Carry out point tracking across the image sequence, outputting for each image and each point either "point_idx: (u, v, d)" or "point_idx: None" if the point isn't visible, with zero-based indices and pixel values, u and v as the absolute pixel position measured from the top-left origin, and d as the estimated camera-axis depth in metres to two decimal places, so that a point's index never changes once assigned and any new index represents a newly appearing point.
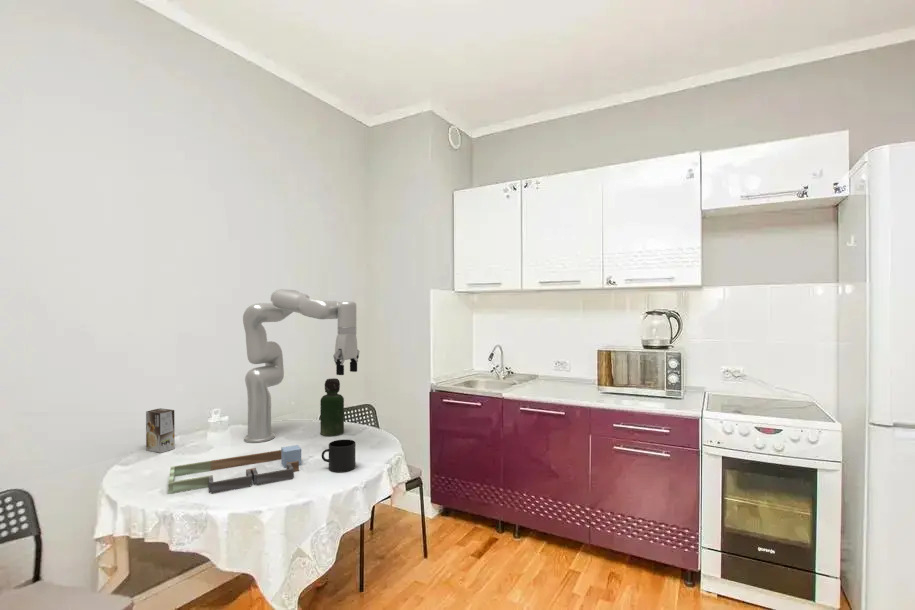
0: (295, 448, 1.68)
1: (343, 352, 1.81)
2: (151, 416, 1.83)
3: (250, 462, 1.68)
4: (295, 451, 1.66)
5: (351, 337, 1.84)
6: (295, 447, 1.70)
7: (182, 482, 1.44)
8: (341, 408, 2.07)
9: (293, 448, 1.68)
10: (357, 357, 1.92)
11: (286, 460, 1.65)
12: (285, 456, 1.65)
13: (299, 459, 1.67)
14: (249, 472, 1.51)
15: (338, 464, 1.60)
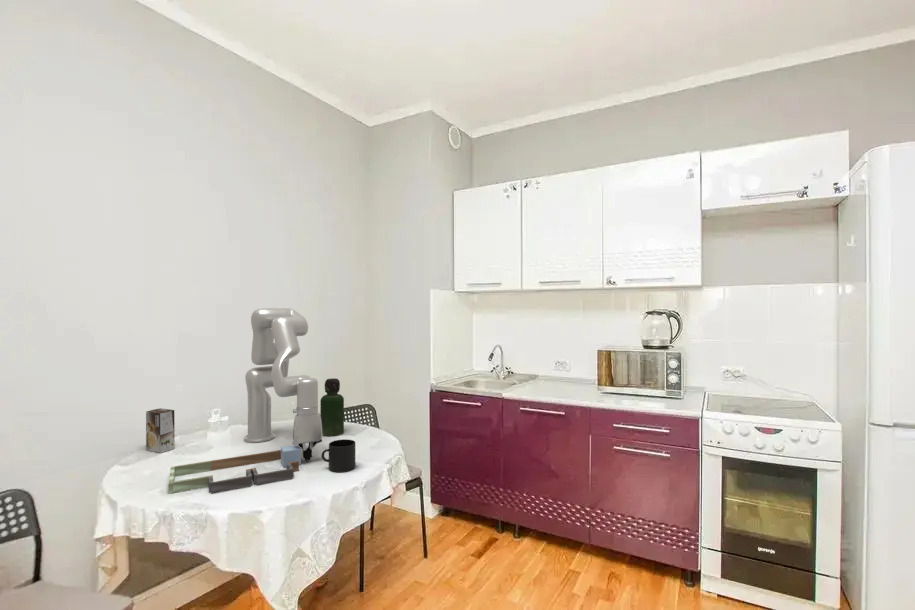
0: (294, 448, 1.68)
1: None
2: (151, 416, 1.83)
3: (250, 462, 1.68)
4: (294, 451, 1.66)
5: None
6: (295, 447, 1.70)
7: (182, 482, 1.44)
8: (341, 408, 2.07)
9: (293, 448, 1.68)
10: None
11: (285, 460, 1.65)
12: (284, 456, 1.64)
13: (298, 459, 1.67)
14: (249, 472, 1.51)
15: (338, 464, 1.60)
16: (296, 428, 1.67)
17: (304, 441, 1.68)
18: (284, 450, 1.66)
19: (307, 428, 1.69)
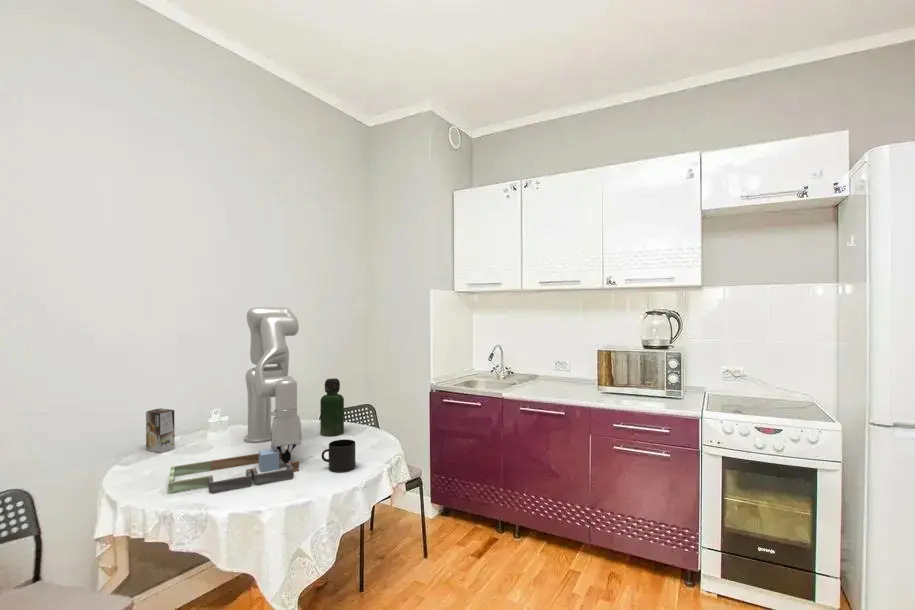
0: (272, 451, 1.64)
1: None
2: (151, 416, 1.83)
3: (250, 462, 1.68)
4: (272, 455, 1.62)
5: None
6: (273, 450, 1.65)
7: (182, 482, 1.44)
8: (341, 408, 2.07)
9: (271, 452, 1.64)
10: None
11: (263, 464, 1.61)
12: (262, 460, 1.60)
13: (277, 463, 1.63)
14: (249, 472, 1.51)
15: (338, 464, 1.60)
16: (274, 431, 1.63)
17: (282, 444, 1.64)
18: (262, 454, 1.62)
19: (285, 431, 1.65)
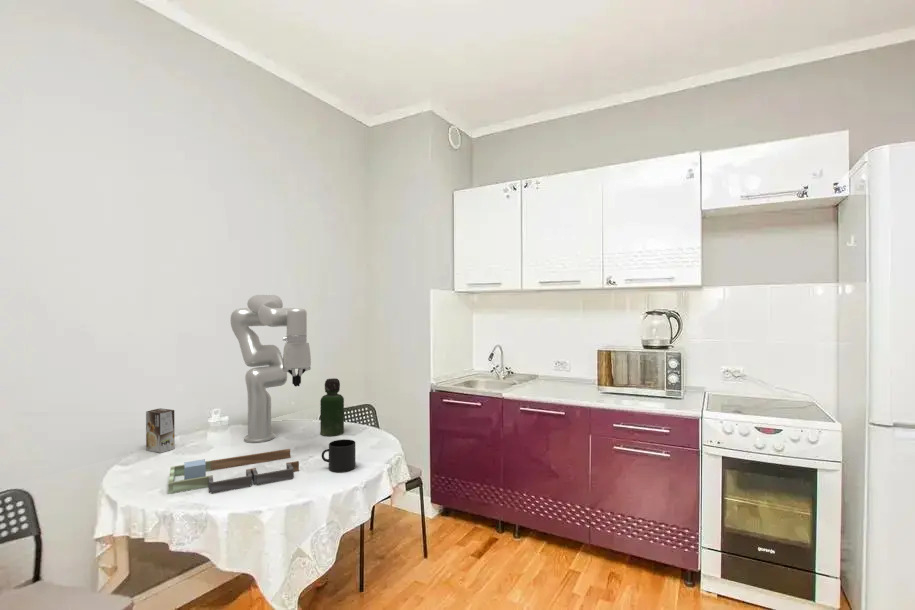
0: (199, 463, 1.52)
1: None
2: (151, 416, 1.83)
3: (250, 462, 1.68)
4: (198, 467, 1.50)
5: None
6: (200, 462, 1.54)
7: (182, 482, 1.44)
8: (341, 408, 2.07)
9: (197, 464, 1.52)
10: None
11: (187, 477, 1.49)
12: (186, 472, 1.48)
13: (203, 475, 1.51)
14: (249, 472, 1.51)
15: (338, 464, 1.60)
16: (285, 354, 1.76)
17: (293, 367, 1.77)
18: (186, 466, 1.50)
19: (296, 355, 1.77)
